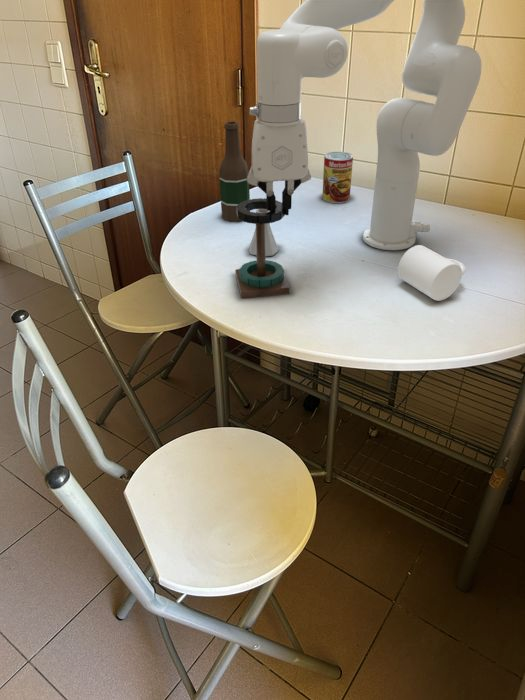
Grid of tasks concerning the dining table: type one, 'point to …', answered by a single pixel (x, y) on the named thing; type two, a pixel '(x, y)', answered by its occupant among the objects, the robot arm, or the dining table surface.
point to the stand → (261, 272)
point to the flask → (269, 239)
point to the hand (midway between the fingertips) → (278, 212)
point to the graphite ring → (260, 218)
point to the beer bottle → (233, 174)
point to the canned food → (337, 177)
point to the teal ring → (261, 281)
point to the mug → (430, 272)
